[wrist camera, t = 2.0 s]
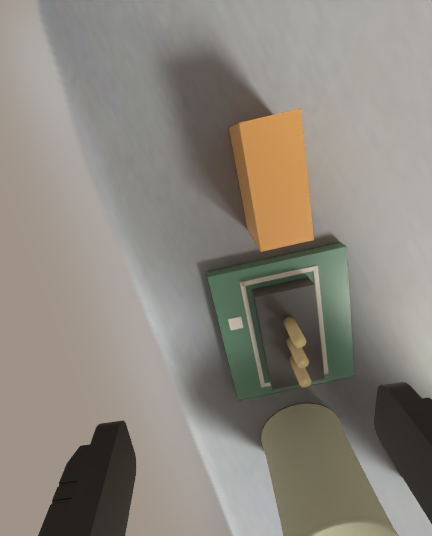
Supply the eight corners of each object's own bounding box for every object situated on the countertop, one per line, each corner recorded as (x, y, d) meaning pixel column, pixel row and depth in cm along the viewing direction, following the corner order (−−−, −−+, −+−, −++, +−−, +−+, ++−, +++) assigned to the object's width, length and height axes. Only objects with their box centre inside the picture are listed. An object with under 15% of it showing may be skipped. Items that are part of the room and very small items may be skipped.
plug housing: (275, 117, 23) (300, 108, 18) (289, 220, 26) (314, 240, 21) (229, 128, 23) (238, 122, 18) (247, 229, 26) (260, 251, 21)
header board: (340, 242, 27) (375, 266, 22) (349, 368, 32) (379, 412, 27) (207, 272, 27) (209, 302, 22) (236, 391, 33) (244, 440, 27)
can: (293, 473, 38) (334, 609, 27) (244, 435, 35) (266, 570, 24) (356, 432, 36) (427, 561, 25) (308, 388, 33) (365, 512, 22)
